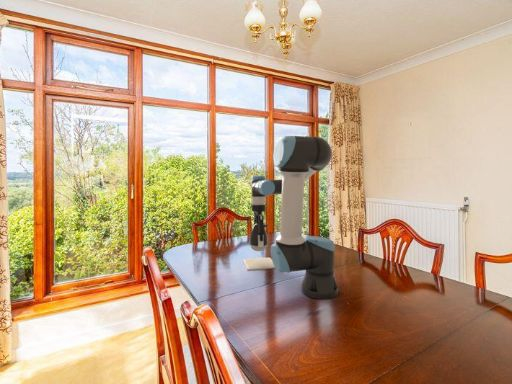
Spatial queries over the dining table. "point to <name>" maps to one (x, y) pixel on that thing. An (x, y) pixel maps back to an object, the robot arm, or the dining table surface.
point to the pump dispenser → (254, 238)
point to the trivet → (258, 263)
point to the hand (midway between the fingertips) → (258, 244)
